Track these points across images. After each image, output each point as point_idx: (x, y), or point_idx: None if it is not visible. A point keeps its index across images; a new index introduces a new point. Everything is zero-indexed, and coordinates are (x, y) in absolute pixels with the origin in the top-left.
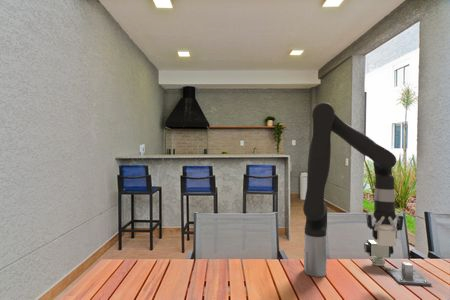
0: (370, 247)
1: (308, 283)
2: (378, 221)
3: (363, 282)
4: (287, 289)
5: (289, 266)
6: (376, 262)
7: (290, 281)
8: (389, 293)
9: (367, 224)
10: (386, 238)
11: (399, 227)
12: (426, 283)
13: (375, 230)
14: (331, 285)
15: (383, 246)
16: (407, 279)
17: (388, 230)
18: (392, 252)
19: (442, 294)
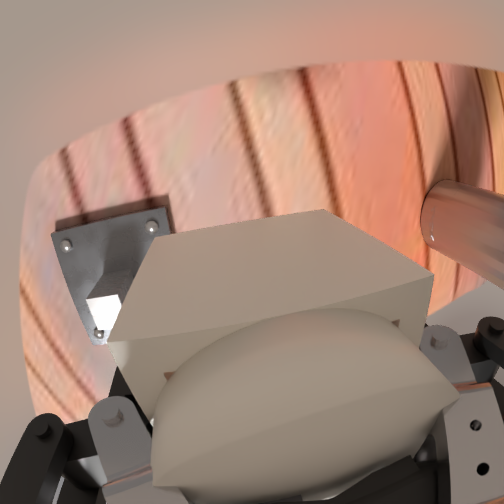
0: None
1: (463, 132)
2: (498, 448)
3: (314, 172)
4: (490, 96)
5: None
6: None
7: (489, 140)
8: (230, 96)
9: (496, 387)
10: (269, 248)
11: (48, 452)
12: (65, 229)
13: (429, 329)
14: (417, 124)
15: None
16: (125, 242)
17: (268, 329)
18: None
19: (38, 169)
